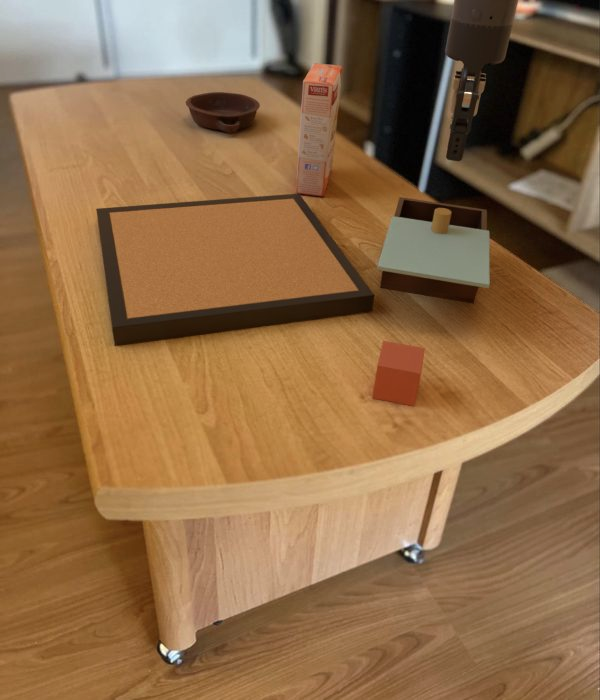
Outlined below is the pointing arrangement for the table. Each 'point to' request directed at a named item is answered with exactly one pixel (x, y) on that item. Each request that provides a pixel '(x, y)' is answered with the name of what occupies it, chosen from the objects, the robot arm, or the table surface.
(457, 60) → the robot arm
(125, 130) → the table surface
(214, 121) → the dish
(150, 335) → the cork board
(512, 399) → the table surface
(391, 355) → the block
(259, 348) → the table surface
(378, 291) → the table surface
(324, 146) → the cracker box
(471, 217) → the case
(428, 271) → the glass top
